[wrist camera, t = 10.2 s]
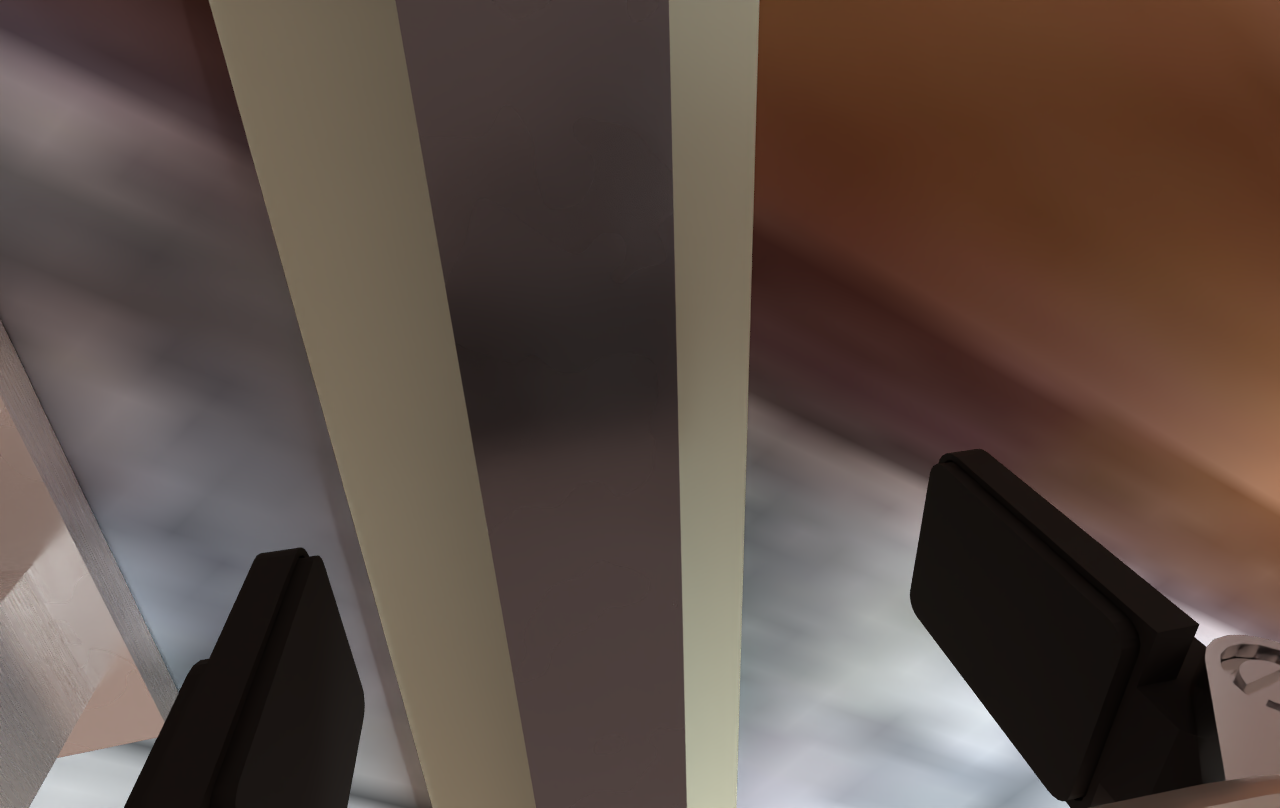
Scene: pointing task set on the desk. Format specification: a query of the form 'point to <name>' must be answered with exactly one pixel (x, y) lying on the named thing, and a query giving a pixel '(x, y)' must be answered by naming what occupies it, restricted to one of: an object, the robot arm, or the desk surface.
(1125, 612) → the robot arm
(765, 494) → the desk surface
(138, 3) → the desk surface
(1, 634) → the rack
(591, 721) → the rail
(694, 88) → the mat
